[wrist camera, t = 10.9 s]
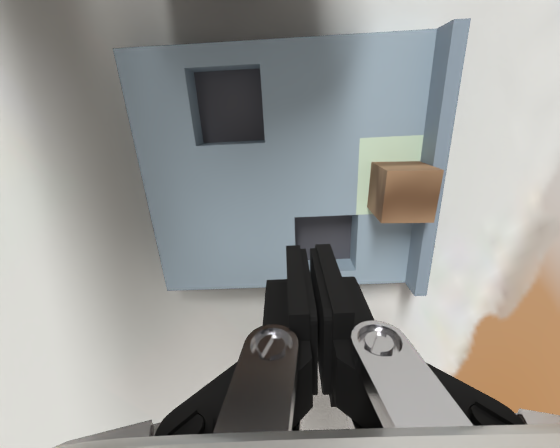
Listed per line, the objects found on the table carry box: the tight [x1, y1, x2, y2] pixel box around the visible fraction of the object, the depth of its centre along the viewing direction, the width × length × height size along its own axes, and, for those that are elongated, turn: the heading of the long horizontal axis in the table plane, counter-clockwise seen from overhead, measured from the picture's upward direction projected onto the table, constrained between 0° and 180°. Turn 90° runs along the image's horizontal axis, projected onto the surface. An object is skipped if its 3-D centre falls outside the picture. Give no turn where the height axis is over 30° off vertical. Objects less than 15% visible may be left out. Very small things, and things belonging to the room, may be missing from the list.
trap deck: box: [113, 18, 471, 296], centre depth 28 cm, size 24×28×6 cm
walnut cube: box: [367, 161, 444, 223], centre depth 26 cm, size 4×4×4 cm
